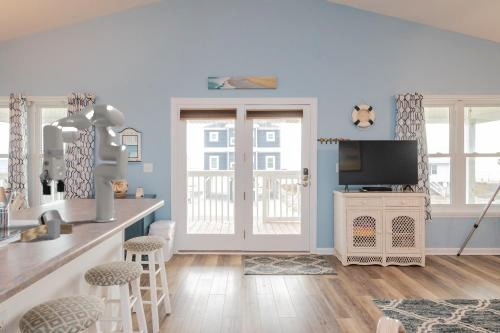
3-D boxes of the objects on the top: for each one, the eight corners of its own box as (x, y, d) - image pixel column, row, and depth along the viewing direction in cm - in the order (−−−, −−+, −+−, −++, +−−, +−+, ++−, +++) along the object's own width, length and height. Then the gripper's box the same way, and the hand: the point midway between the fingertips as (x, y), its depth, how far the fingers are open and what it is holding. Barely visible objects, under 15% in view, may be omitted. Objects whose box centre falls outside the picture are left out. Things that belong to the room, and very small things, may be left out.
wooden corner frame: (48, 232, 156) (48, 223, 156) (73, 232, 156) (73, 224, 155) (20, 241, 138) (20, 232, 138) (48, 242, 138) (48, 232, 137)
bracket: (60, 237, 147) (60, 219, 146) (54, 239, 143) (54, 220, 142) (42, 236, 147) (42, 218, 147) (36, 239, 143) (36, 220, 143)
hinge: (53, 231, 157) (45, 211, 156) (43, 235, 156) (35, 215, 155) (66, 224, 173) (59, 206, 172) (57, 227, 173) (50, 209, 172)
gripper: (49, 154, 135) (50, 196, 136) (73, 153, 152) (73, 191, 153) (31, 153, 135) (31, 195, 136) (57, 153, 152) (57, 191, 153)
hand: (54, 193), depth 144 cm, fingers open, 9 cm apart
